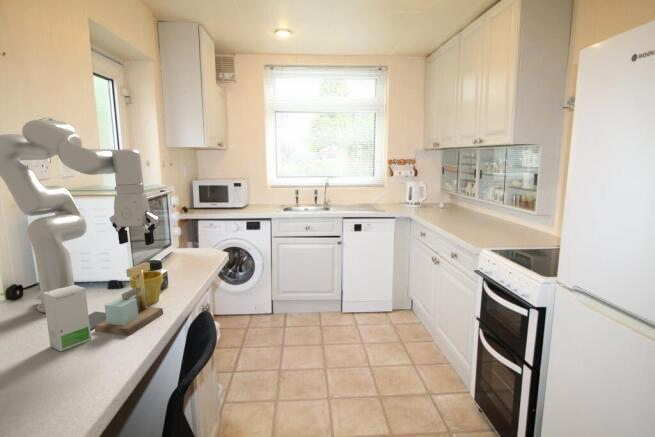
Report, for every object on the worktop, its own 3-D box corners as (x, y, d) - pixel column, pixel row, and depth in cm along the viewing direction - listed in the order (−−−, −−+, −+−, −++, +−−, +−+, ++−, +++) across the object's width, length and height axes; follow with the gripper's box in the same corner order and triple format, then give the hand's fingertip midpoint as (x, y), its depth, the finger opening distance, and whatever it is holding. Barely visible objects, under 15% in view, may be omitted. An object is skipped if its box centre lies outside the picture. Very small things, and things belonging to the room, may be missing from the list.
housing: (95, 331, 110) (94, 325, 110) (132, 310, 125) (131, 304, 124) (129, 335, 108) (128, 329, 107) (163, 313, 122) (162, 308, 122)
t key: (123, 316, 115) (118, 272, 112) (148, 303, 125) (143, 262, 122) (129, 317, 114) (124, 273, 111) (154, 303, 125) (150, 262, 122)
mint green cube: (106, 323, 111) (104, 305, 110) (122, 315, 116) (120, 297, 115) (123, 325, 109) (121, 306, 108) (138, 317, 115) (136, 298, 114)
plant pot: (151, 308, 126) (148, 281, 124) (125, 305, 128) (122, 279, 127) (170, 296, 136) (168, 271, 134) (146, 294, 138) (143, 269, 137)
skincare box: (60, 352, 99) (51, 297, 96) (48, 346, 102) (40, 292, 99) (93, 339, 106) (86, 287, 103) (81, 333, 109) (74, 283, 106)
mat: (65, 328, 112) (65, 326, 112) (95, 313, 123) (95, 311, 123) (89, 331, 110) (89, 329, 110) (118, 315, 121) (118, 314, 121)
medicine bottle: (160, 293, 139) (157, 263, 137) (142, 293, 140) (138, 263, 137) (169, 286, 146) (166, 257, 144) (151, 286, 147) (148, 257, 144)
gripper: (97, 191, 112) (104, 245, 115) (145, 191, 108) (152, 247, 111) (116, 188, 120) (123, 240, 123) (162, 188, 116) (168, 241, 119)
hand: (136, 243), depth 117 cm, fingers open, 9 cm apart
